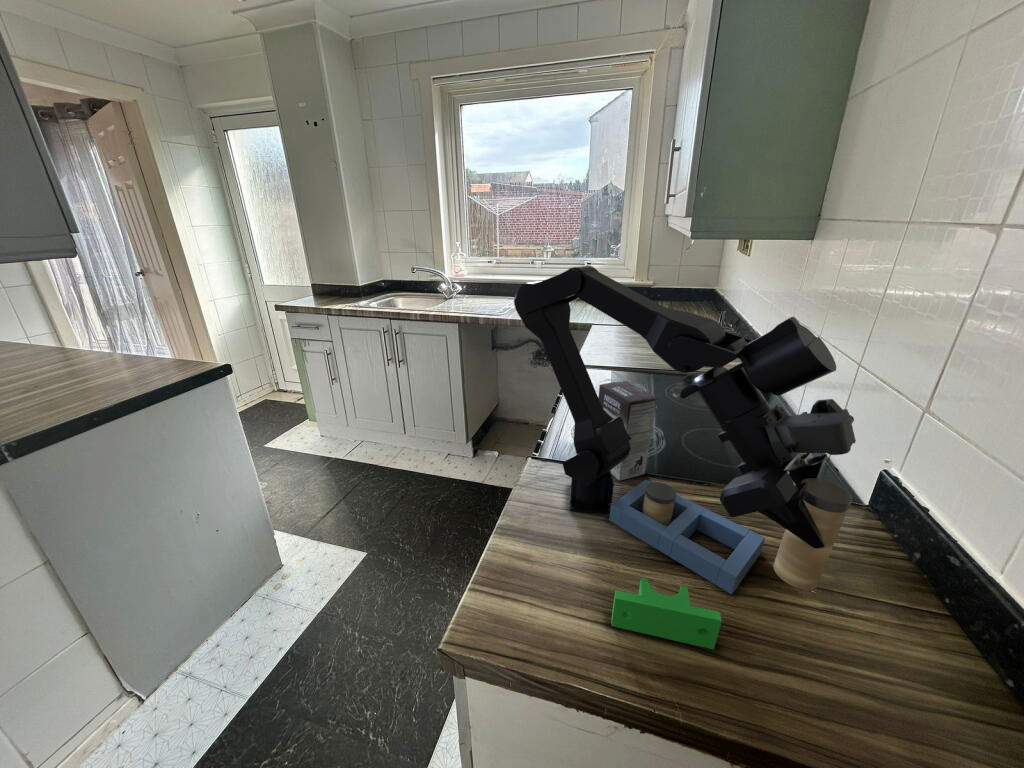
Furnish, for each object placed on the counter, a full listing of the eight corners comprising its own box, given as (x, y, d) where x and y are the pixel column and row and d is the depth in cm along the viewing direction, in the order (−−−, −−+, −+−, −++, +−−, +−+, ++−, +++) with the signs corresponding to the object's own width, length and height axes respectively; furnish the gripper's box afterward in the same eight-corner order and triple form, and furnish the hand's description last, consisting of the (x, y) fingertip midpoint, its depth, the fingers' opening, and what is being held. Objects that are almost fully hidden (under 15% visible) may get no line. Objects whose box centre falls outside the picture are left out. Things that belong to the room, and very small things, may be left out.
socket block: (608, 520, 64) (610, 504, 63) (643, 493, 71) (645, 479, 70) (731, 594, 51) (736, 577, 50) (760, 553, 58) (765, 537, 57)
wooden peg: (783, 587, 46) (814, 501, 41) (766, 557, 50) (792, 475, 45) (826, 593, 45) (862, 506, 41) (805, 561, 49) (836, 479, 45)
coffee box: (591, 457, 82) (597, 383, 76) (617, 451, 84) (625, 379, 78) (619, 482, 74) (628, 402, 68) (646, 474, 76) (658, 396, 70)
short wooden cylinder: (642, 530, 62) (648, 498, 60) (638, 511, 66) (643, 480, 64) (673, 533, 62) (679, 501, 59) (667, 514, 66) (672, 483, 64)
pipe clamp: (707, 620, 48) (715, 592, 46) (713, 650, 45) (722, 621, 43) (611, 599, 51) (615, 571, 49) (610, 626, 47) (615, 597, 46)
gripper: (784, 406, 36) (903, 575, 32) (834, 362, 47) (926, 483, 44) (683, 448, 44) (769, 586, 41) (747, 402, 56) (818, 506, 52)
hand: (825, 536), depth 44 cm, fingers closed on wooden peg, 4 cm apart
